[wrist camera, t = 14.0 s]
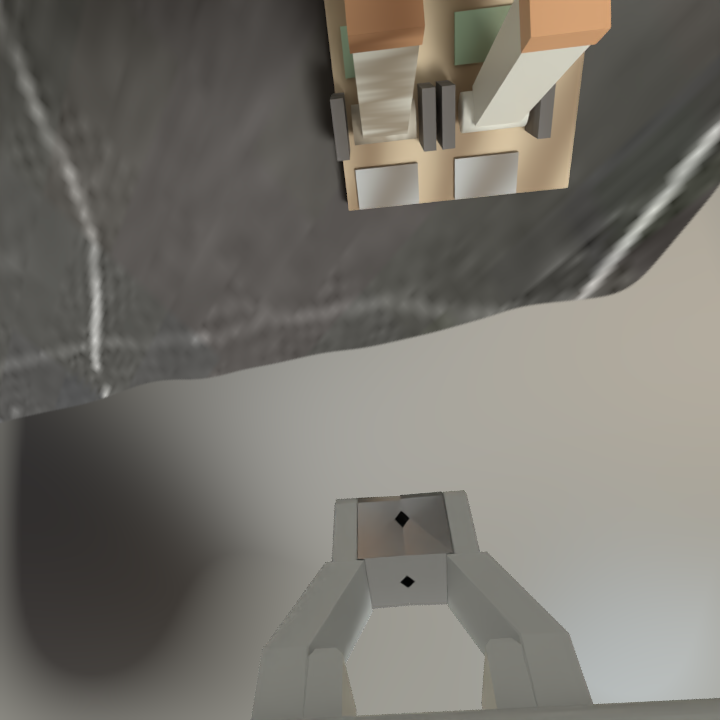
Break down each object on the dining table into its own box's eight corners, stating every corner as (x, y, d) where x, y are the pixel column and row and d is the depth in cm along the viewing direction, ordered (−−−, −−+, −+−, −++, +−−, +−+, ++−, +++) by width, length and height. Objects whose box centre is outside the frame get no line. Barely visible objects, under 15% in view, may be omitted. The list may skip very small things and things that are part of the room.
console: (346, 204, 39) (340, 296, 26) (319, -23, 31) (291, -53, 18) (560, 181, 38) (665, 265, 25) (587, -58, 30) (761, -117, 17)
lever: (459, 139, 34) (517, 39, 19) (457, 97, 33) (514, -37, 19) (520, 132, 33) (624, 26, 19) (518, 90, 33) (623, -51, 19)
